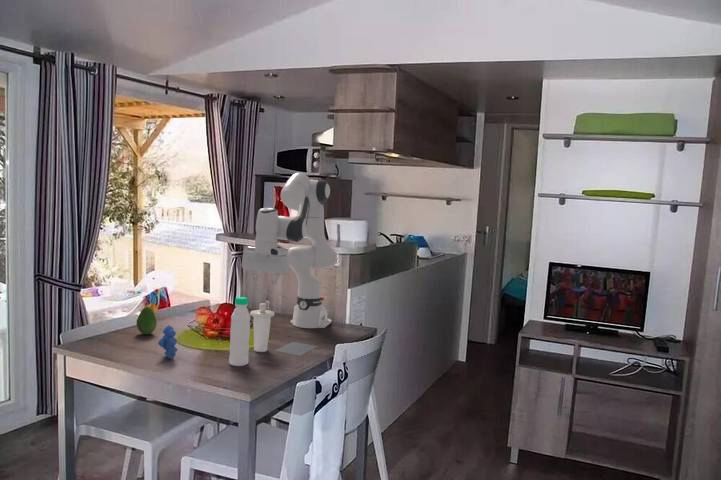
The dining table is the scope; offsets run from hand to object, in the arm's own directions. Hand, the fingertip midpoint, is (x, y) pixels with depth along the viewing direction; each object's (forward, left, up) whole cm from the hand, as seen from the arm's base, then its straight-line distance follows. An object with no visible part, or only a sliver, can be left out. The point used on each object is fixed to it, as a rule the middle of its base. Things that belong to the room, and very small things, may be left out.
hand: (264, 282), depth 219 cm
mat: (-10, +11, -28) cm, 32 cm away
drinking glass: (0, 0, -28) cm, 28 cm away
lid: (0, 0, -13) cm, 13 cm away
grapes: (+27, -24, -28) cm, 46 cm away
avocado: (+7, -53, -28) cm, 60 cm away
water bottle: (+18, +2, -28) cm, 34 cm away
